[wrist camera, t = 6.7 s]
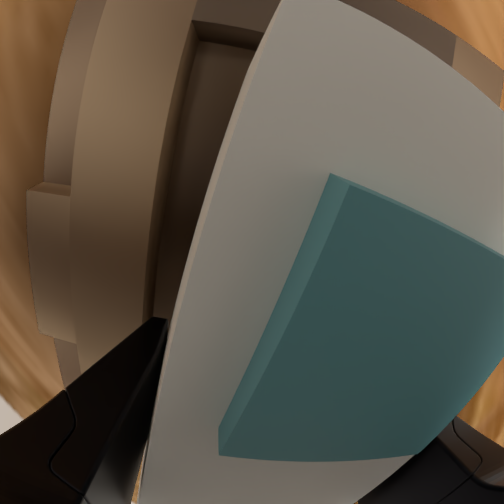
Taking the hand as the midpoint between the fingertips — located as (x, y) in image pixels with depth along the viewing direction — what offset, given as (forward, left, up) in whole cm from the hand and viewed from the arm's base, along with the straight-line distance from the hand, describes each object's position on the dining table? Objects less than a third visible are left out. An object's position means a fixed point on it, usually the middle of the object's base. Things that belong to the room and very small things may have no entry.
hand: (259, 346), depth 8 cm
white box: (0, 0, -1) cm, 1 cm away
